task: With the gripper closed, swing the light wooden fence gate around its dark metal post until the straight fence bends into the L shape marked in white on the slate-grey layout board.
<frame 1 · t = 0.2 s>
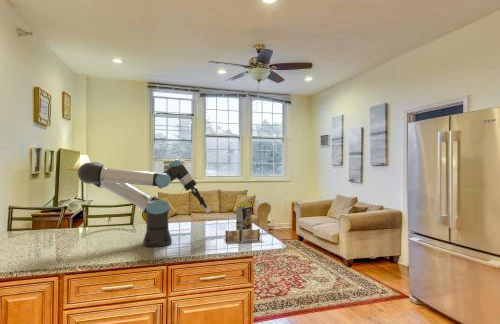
hand: (208, 210, 194), 16 cm above the counter, tool tilted 35°, fingers open, 13 cm apart
coffee box: (244, 232, 206), on the counter
layout card: (240, 239, 186), on the counter
fence gate: (251, 234, 182), point 4 cm above the counter, hinge at 0.0°
fence fixed section: (240, 240, 181), resting on layout card
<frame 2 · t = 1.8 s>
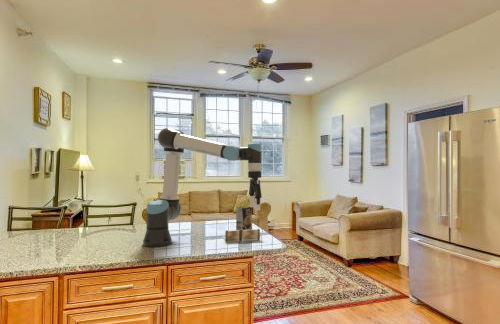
hand: (254, 208, 179), 19 cm above the counter, tool pointing down, fingers open, 12 cm apart
nothing on the counter moved.
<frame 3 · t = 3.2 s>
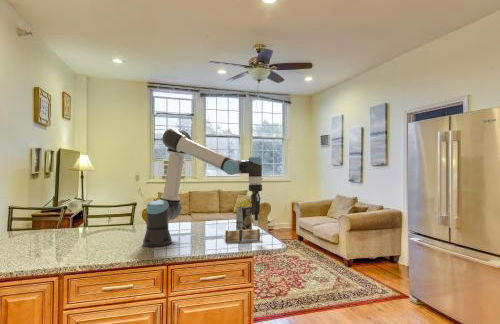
hand: (255, 225, 178), 9 cm above the counter, tool pointing down, fingers closed
nothing on the counter moved.
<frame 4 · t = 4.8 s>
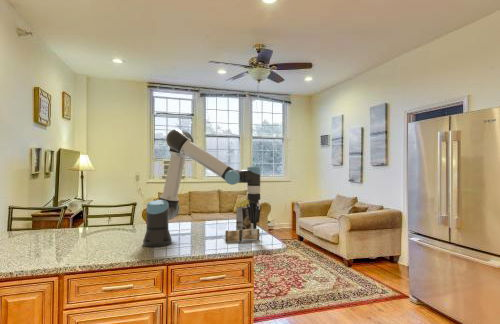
hand: (253, 234, 182), 4 cm above the counter, tool pointing down, fingers closed
fence gate: (250, 234, 183), point 4 cm above the counter, hinge at 4.7°, touching gripper
everything else where it was.
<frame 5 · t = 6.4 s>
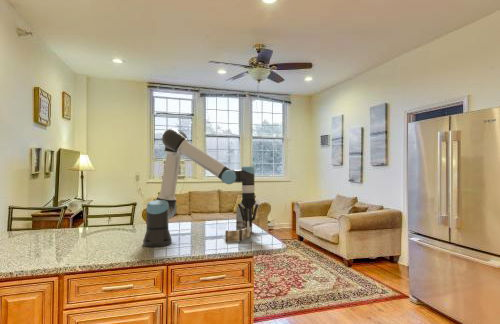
hand: (248, 232, 187), 4 cm above the counter, tool pointing down, fingers closed
fence gate: (245, 232, 187), point 4 cm above the counter, hinge at 49.1°, touching gripper
everything else where it was.
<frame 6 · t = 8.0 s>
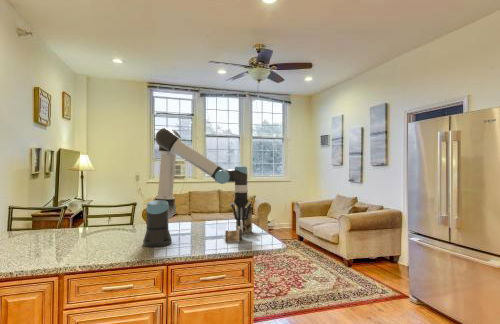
hand: (241, 231, 189), 4 cm above the counter, tool pointing down, fingers closed
fence gate: (239, 232, 187), point 4 cm above the counter, hinge at 85.9°, touching gripper
everything else where it was.
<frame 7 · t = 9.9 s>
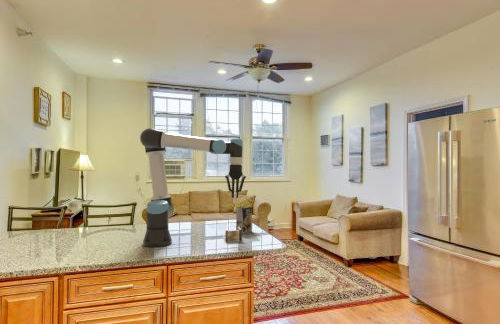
hand: (234, 203, 192), 20 cm above the counter, tool pointing down, fingers closed
fence gate: (239, 232, 187), point 4 cm above the counter, hinge at 85.9°
everything else where it was.
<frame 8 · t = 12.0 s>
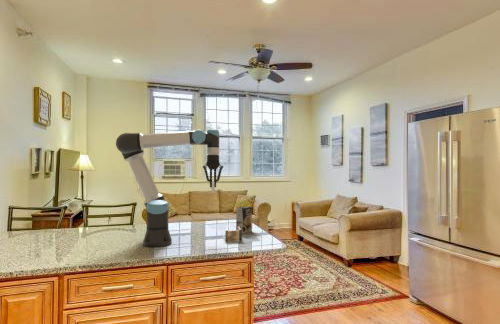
hand: (212, 192, 196), 26 cm above the counter, tool pointing down, fingers closed
nothing on the counter moved.
at the end: fence gate at +86° (first picture: +0°); coffee box moved 0.2 cm from its start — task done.
